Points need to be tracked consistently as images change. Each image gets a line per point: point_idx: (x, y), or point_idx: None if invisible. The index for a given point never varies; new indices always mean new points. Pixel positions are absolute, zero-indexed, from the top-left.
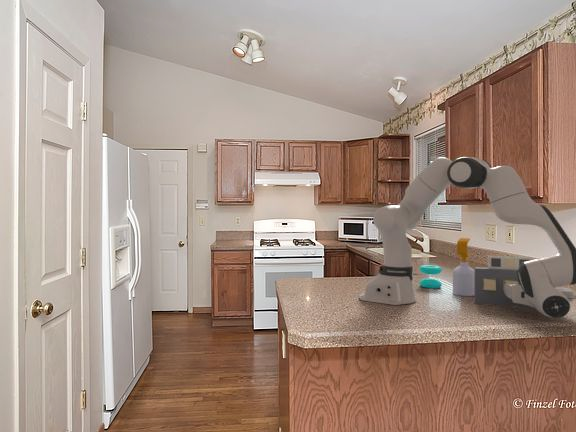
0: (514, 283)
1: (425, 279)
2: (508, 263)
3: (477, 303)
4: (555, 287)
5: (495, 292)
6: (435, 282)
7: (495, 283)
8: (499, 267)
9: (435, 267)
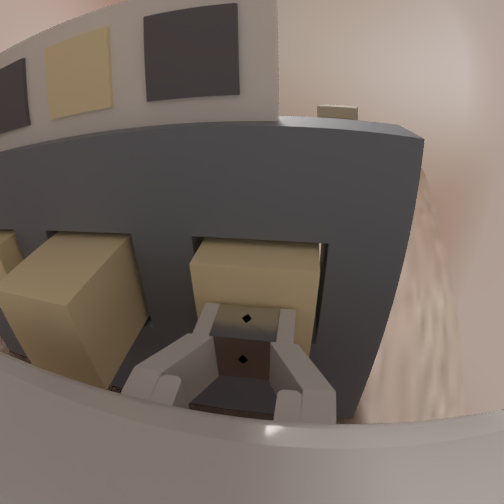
0: (41, 308)
1: None
2: (65, 80)
3: (14, 351)
4: (487, 468)
5: None
6: None
7: (3, 270)
8: (25, 132)
9: None
